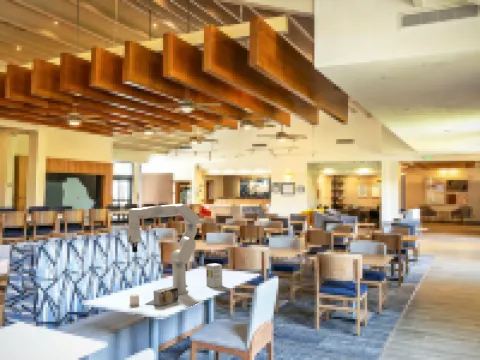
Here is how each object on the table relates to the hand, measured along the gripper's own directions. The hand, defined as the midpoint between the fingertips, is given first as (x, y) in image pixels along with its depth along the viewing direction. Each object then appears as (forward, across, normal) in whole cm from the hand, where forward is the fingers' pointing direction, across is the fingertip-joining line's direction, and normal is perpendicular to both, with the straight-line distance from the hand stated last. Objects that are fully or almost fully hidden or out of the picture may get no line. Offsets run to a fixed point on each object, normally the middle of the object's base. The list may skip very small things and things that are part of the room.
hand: (134, 252), depth 288 cm
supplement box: (+33, -50, +39) cm, 72 cm away
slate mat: (+33, +2, +22) cm, 40 cm away
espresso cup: (+33, +12, +7) cm, 36 cm away
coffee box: (+28, +12, +23) cm, 38 cm away
